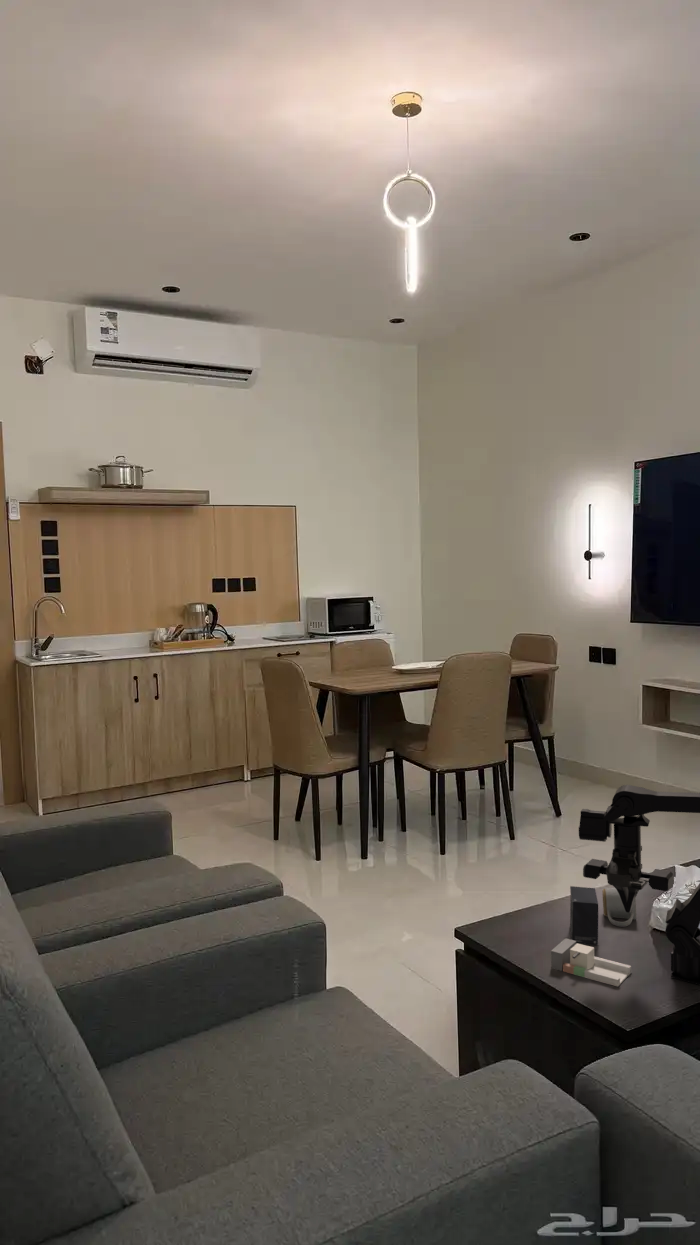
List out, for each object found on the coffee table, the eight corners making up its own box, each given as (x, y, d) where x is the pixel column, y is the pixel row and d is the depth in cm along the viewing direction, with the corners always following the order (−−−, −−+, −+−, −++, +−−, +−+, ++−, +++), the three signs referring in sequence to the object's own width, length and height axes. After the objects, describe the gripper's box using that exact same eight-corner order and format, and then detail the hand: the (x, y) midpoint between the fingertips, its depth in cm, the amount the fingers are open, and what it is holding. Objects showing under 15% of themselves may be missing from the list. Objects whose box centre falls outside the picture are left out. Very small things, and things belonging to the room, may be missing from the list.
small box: (599, 946, 207) (599, 903, 206) (571, 944, 208) (571, 901, 207) (596, 928, 217) (596, 886, 216) (569, 926, 218) (569, 885, 218)
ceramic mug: (601, 910, 228) (601, 881, 228) (634, 912, 226) (634, 883, 226) (604, 927, 218) (604, 897, 217) (638, 929, 216) (638, 899, 215)
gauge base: (631, 972, 193) (631, 954, 193) (618, 986, 187) (618, 968, 186) (565, 955, 202) (565, 938, 202) (551, 968, 196) (551, 950, 196)
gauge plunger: (594, 964, 196) (594, 947, 196) (582, 976, 191) (582, 958, 190) (577, 960, 198) (577, 943, 198) (565, 971, 193) (564, 954, 193)
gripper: (574, 847, 193) (575, 916, 194) (660, 860, 182) (661, 933, 183) (590, 833, 202) (591, 899, 203) (674, 845, 191) (675, 915, 192)
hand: (628, 911), depth 195 cm, fingers closed
